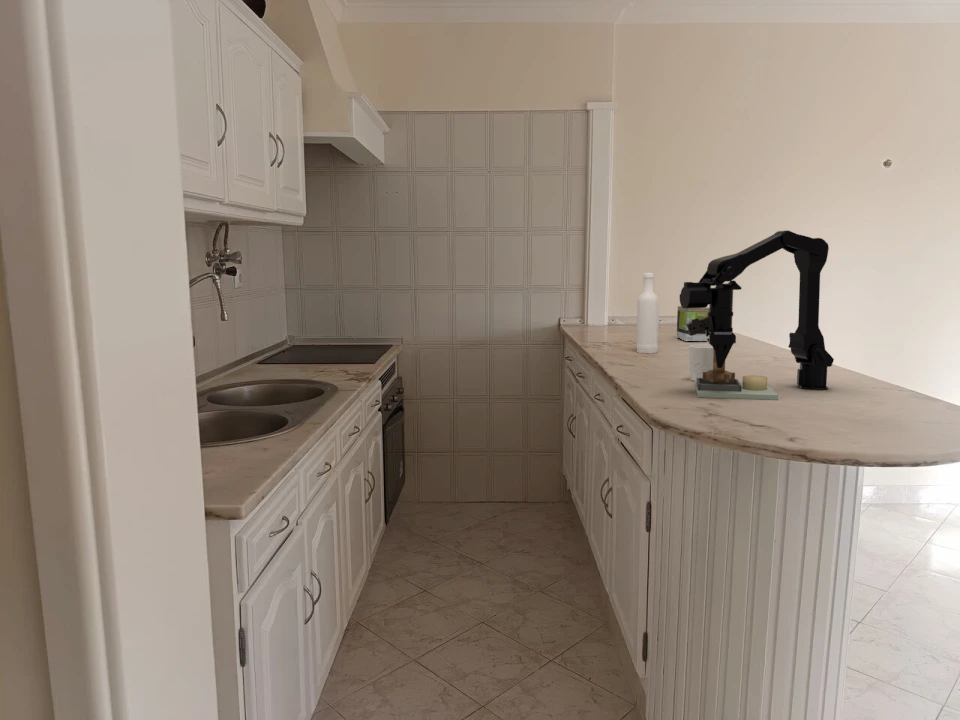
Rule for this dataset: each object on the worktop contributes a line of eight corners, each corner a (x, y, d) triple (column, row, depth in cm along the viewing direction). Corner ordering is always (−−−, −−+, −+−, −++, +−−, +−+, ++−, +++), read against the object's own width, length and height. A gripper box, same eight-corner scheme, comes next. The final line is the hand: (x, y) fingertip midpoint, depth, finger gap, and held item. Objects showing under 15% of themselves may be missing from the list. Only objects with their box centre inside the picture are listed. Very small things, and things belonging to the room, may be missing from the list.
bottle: (633, 353, 260) (635, 273, 256) (639, 350, 267) (640, 272, 262) (655, 354, 256) (656, 273, 252) (660, 351, 263) (661, 272, 259)
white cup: (698, 383, 195) (699, 348, 193) (683, 378, 202) (683, 345, 201) (722, 381, 197) (723, 346, 196) (706, 377, 204) (707, 343, 203)
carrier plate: (768, 387, 186) (768, 372, 186) (778, 399, 170) (778, 383, 170) (694, 385, 191) (695, 370, 191) (697, 397, 175) (698, 380, 174)
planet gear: (733, 377, 184) (734, 348, 183) (735, 382, 177) (737, 351, 176) (701, 377, 186) (702, 347, 185) (703, 381, 179) (704, 351, 178)
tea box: (709, 342, 290) (710, 307, 288) (685, 342, 291) (686, 307, 289) (698, 338, 305) (699, 305, 303) (675, 338, 305) (676, 305, 303)
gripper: (687, 305, 190) (686, 361, 192) (689, 310, 172) (688, 371, 174) (730, 305, 187) (728, 362, 189) (737, 310, 169) (734, 372, 171)
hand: (718, 366), depth 181 cm, fingers closed on planet gear, 3 cm apart
